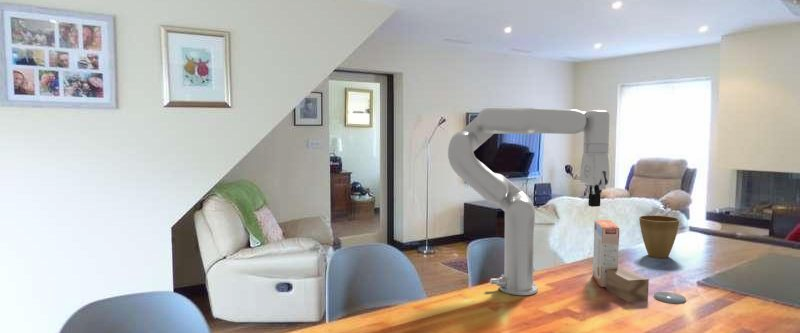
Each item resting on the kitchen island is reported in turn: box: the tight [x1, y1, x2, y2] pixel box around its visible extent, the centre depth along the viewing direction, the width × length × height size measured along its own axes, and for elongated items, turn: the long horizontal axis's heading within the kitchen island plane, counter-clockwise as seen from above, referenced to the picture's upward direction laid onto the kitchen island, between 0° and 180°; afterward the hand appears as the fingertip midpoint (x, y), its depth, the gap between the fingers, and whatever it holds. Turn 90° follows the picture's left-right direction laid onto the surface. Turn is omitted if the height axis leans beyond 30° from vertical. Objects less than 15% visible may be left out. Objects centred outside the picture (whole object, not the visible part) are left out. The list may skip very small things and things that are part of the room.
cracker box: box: [592, 219, 620, 288], centre depth 178 cm, size 14×6×21 cm, turn 169°
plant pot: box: [638, 214, 680, 259], centre depth 212 cm, size 15×15×16 cm
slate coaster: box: [653, 291, 687, 304], centre depth 162 cm, size 9×9×1 cm
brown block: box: [605, 267, 650, 303], centre depth 165 cm, size 7×12×7 cm, turn 9°
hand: (594, 206), depth 164 cm, fingers closed
